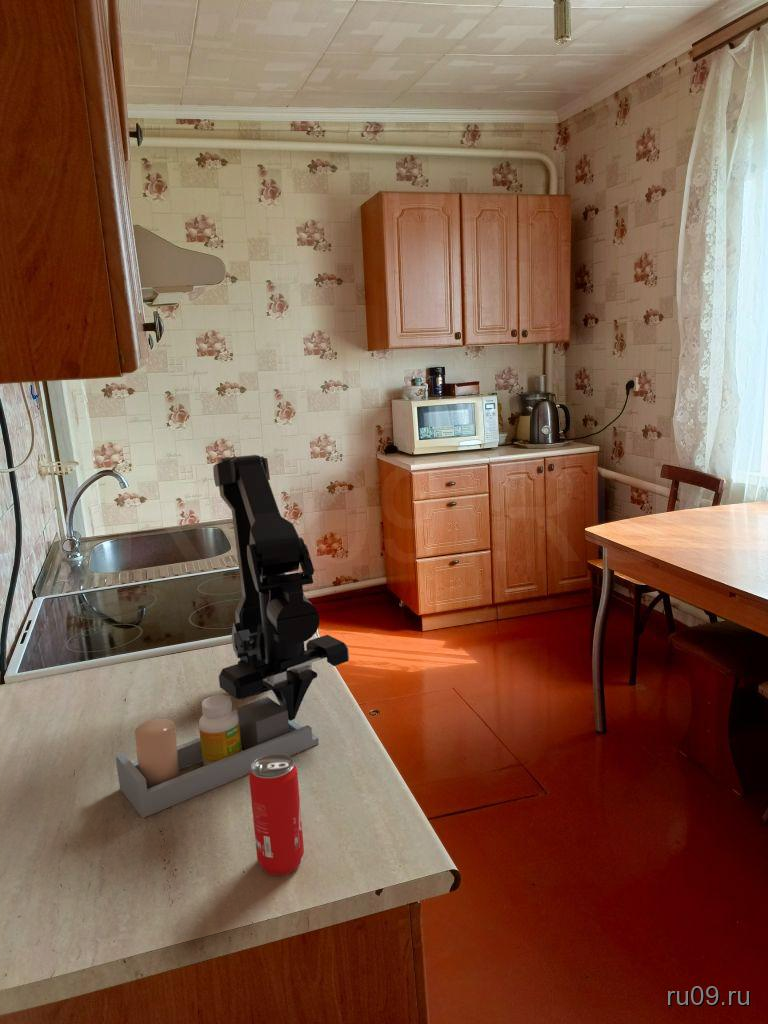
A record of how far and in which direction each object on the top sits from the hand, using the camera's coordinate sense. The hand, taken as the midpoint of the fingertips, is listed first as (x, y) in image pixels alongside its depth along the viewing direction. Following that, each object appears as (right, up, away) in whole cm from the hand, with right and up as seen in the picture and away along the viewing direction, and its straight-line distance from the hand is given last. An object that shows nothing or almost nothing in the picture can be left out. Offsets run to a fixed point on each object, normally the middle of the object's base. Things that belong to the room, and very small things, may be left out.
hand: (290, 719), depth 109 cm
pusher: (-3, -4, -2) cm, 5 cm away
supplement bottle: (-9, -5, -6) cm, 12 cm away
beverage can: (+2, -9, -26) cm, 28 cm away
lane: (-9, -5, -6) cm, 11 cm away
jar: (-16, -6, -11) cm, 20 cm away
